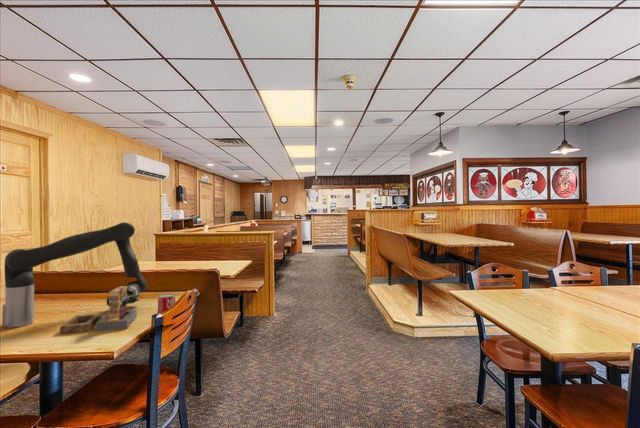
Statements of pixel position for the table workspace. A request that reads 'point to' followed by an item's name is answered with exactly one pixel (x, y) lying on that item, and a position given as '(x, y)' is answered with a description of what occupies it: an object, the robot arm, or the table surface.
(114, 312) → the candy box
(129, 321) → the dock
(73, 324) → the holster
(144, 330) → the table surface
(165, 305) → the soda can
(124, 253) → the robot arm
